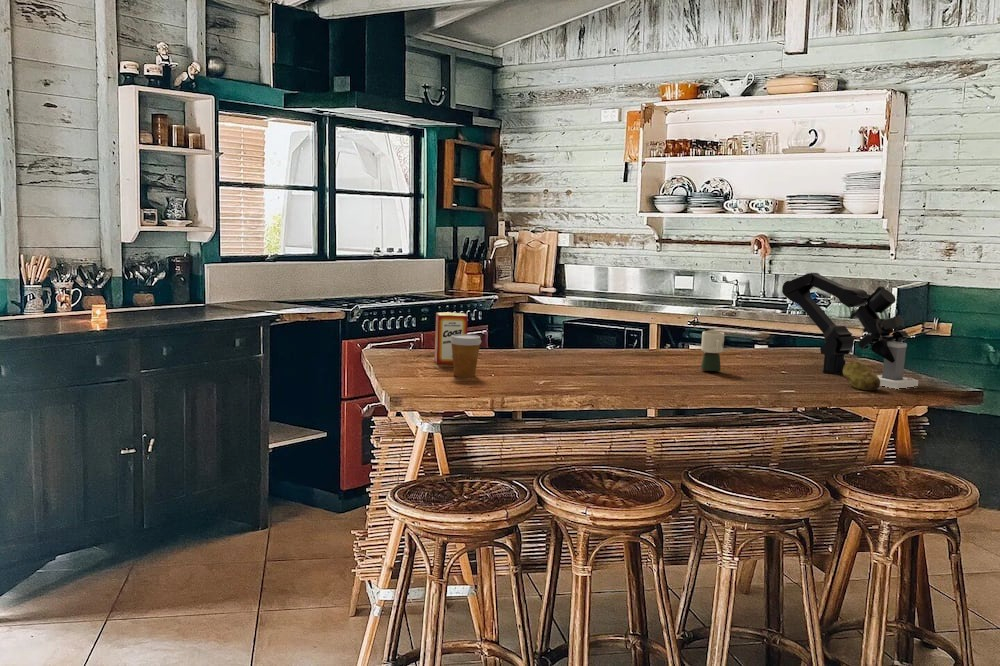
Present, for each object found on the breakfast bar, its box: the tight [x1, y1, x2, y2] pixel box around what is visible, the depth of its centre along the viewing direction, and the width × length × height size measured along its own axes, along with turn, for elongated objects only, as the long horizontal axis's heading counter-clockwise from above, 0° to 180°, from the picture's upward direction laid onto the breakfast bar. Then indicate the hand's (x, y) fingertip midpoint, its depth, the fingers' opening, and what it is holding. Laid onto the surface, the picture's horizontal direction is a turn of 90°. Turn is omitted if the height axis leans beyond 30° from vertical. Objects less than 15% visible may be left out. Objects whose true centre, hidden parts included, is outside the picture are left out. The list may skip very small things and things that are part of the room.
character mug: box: [700, 330, 725, 373], centre depth 322 cm, size 11×7×13 cm, turn 7°
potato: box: [842, 360, 881, 392], centre depth 305 cm, size 8×13×8 cm, turn 7°
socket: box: [876, 374, 919, 390], centre depth 312 cm, size 11×11×3 cm
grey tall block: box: [881, 341, 908, 381], centre depth 311 cm, size 5×5×12 cm
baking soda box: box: [434, 311, 469, 365], centre depth 318 cm, size 10×6×16 cm
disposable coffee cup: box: [450, 333, 482, 378], centre depth 297 cm, size 10×10×12 cm
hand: (898, 361), depth 310 cm, fingers closed on grey tall block, 4 cm apart
